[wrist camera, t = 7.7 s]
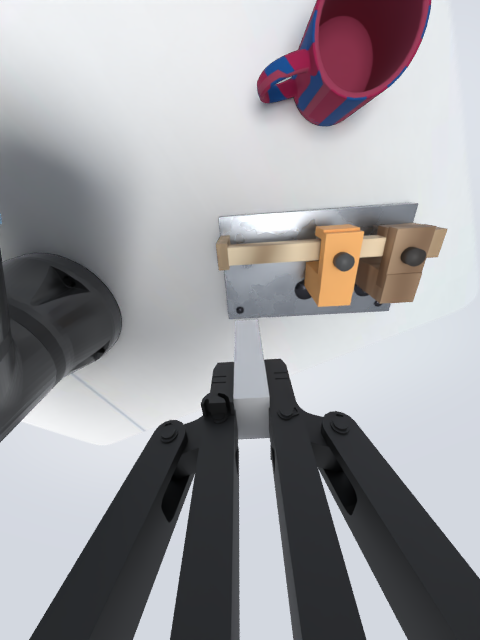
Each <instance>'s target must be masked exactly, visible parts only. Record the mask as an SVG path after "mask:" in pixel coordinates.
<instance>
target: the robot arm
mask: <svg viewBox="0 0 480 640" xmlns="http://www.w3.org/2000/svg"><path fill="white" fill-rule="evenodd" d="M1 224H2V217H1V214H0V225H1ZM120 332H121V314H120V311H119V307H118V305H117V303H116V301H115V299H114V297H113V295H112V294H111V292H110V291H109V290H108V288H107V287H106V286H105V285H104V284H103V283H102V282H101V280H99V279H98V278H97V277H96V276H95V275H94V274H93V273H91V272H90V271H89V270H87V269H86V268H84V267H83V266H81V265H79V264H77V263H75V262H73V261H71V260H69V259H66V258H64V257H61V256H57V255H53V254H46V253H32V254H26V255H23V256H19V257H16V258H12V259H9V260H6V261H4V262H2V257H1V250H0V442H1V441H2V440H3V439H4V438H5V437H6V436H7V435H8V434H9V433H10V432H11V431H12V430H13V429H14V427H16V426H17V425H18V424H19V423H20V422H21V420H22V419H23V418H24V417H25V416H26V415H27V414H28V413H29V412H30V411H31V410H32V409H33V408H34V407H35V406H36V405H37V404H38V403H39V402H40V401H41V400H42V399H43V398H44V397H45V396H46V395H47V394H48V393H49V392H50V390H51V389H52V388H53V387H54V386H55V385H56V384H57V383H58V382H59V381H60V380H61V379H62V378H64V377H65V376H67V375H69V374H71V373H73V372H75V371H77V370H79V369H81V368H83V367H85V366H86V365H88V364H90V363H92V362H94V361H96V360H98V359H99V358H101V357H102V356H103V355H105V354H106V353H107V352H108V350H109V349H110V348H111V347H112V346H113V345H114V344H115V342H116V341H117V339H118V337H119V335H120ZM201 407H202V412H203V416H202V417H200V418H199V419H197V420H195V421H193V422H190V423H187V424H184V425H183V423H182V422H180V421H178V420H170V421H167V422H164V423H163V424H161V425H160V426H159V427H158V428H157V429H156V430H155V431H154V433H153V435H152V437H151V438H150V440H149V441H148V443H147V445H146V446H145V448H144V450H143V452H142V453H141V455H140V456H139V458H138V460H137V462H136V463H135V465H134V466H133V468H132V470H131V471H130V473H129V475H128V477H127V478H126V480H125V481H124V483H123V485H122V486H121V488H120V490H119V491H118V493H117V495H116V496H115V498H114V500H113V501H112V503H111V505H110V506H109V508H108V510H107V511H106V513H105V515H104V516H103V518H102V520H101V521H100V523H99V525H98V526H97V528H96V530H95V532H94V533H93V535H92V536H91V538H90V540H89V541H88V543H87V545H86V546H85V548H84V549H83V551H82V553H81V554H80V556H79V558H78V559H77V561H76V563H75V565H74V566H73V568H72V569H71V571H70V573H69V574H68V576H67V578H66V580H65V581H64V583H63V585H62V586H61V588H60V589H59V591H58V593H57V594H56V596H55V598H54V599H53V601H52V603H51V604H50V606H49V608H48V609H47V611H46V613H45V614H44V616H43V618H42V620H41V621H40V623H39V624H38V626H37V628H36V629H35V631H34V633H33V634H32V636H31V638H30V639H29V640H133V637H134V635H135V632H136V630H137V627H138V624H139V621H140V619H141V616H142V613H143V611H144V608H145V605H146V603H147V600H148V597H149V594H150V592H151V589H152V587H153V584H154V581H155V579H156V576H157V573H158V571H159V568H160V565H161V562H162V560H163V557H164V555H165V552H166V549H167V546H168V544H169V541H170V539H171V536H172V533H173V531H174V528H175V525H176V523H177V520H178V517H179V514H180V512H181V509H182V506H183V504H184V501H185V498H186V496H187V493H188V490H189V488H190V485H191V482H192V480H193V477H194V474H195V478H194V485H193V491H192V498H191V504H190V511H189V518H188V524H187V531H186V538H185V544H184V551H183V558H182V565H181V571H180V577H179V584H178V591H177V597H176V604H175V610H174V617H173V624H172V630H171V637H170V640H239V449H238V439H255V438H270V442H271V460H272V465H273V474H274V481H275V490H276V498H277V507H278V514H279V523H280V532H281V540H282V547H283V556H284V565H285V573H286V581H287V589H288V597H289V606H290V614H291V622H292V630H293V638H294V640H366V637H365V633H364V630H363V626H362V623H361V619H360V615H359V612H358V608H357V605H356V601H355V598H354V594H353V591H352V587H351V584H350V580H349V577H348V573H347V570H346V566H345V562H344V559H343V555H342V552H341V549H340V545H339V541H338V538H337V534H336V531H335V527H334V524H333V520H332V517H331V513H330V510H329V506H328V502H327V499H326V495H325V492H324V488H323V485H322V482H321V478H320V474H319V471H318V469H319V470H320V472H321V474H322V476H323V478H324V480H325V482H326V484H327V486H328V487H329V490H330V491H331V493H332V495H333V497H334V499H335V501H336V503H337V505H338V507H339V509H340V511H341V512H342V514H343V516H344V518H345V520H346V522H347V524H348V526H349V528H350V530H351V531H352V533H353V536H354V537H355V539H356V541H357V543H358V545H359V547H360V549H361V550H362V553H363V554H364V557H365V558H366V560H367V562H368V564H369V566H370V568H371V570H372V572H373V574H374V576H375V578H376V579H377V581H378V583H379V585H380V587H381V589H382V591H383V593H384V595H385V597H386V599H387V601H388V602H389V604H390V606H391V608H392V610H393V612H394V614H395V616H396V618H397V620H398V622H399V623H400V625H401V627H402V629H403V631H404V633H405V635H406V636H407V639H408V640H480V579H479V577H478V576H477V575H476V574H475V572H474V571H473V570H472V569H471V567H470V566H469V565H468V563H467V562H466V561H465V560H464V558H463V557H462V556H461V555H460V553H459V552H458V551H457V550H456V548H455V547H454V546H453V545H452V543H451V542H450V541H449V540H448V538H447V537H446V536H445V534H444V533H443V532H442V531H441V529H440V528H439V527H438V526H437V525H436V523H435V522H434V521H433V520H432V518H431V517H430V516H429V514H428V513H427V512H426V511H425V509H424V508H423V507H422V506H421V504H420V503H419V502H418V501H417V499H416V498H415V497H414V495H413V494H412V493H411V492H410V490H409V489H408V488H407V487H406V485H405V484H404V483H403V482H402V480H401V479H400V478H399V476H398V475H397V474H396V473H395V471H394V470H393V469H392V468H391V466H390V465H389V464H388V463H387V461H386V460H385V459H384V458H383V456H382V455H381V454H380V453H379V451H378V450H377V449H376V447H375V446H374V445H373V444H372V442H371V441H370V440H369V439H368V437H367V436H366V435H365V434H364V432H363V431H362V430H361V429H360V428H359V426H358V425H357V423H356V422H355V421H354V420H353V419H352V418H351V417H350V416H348V415H346V414H344V413H341V412H337V411H335V412H329V413H327V414H325V416H324V417H320V416H317V415H312V414H309V413H307V412H305V411H303V410H302V409H301V408H300V407H299V406H298V404H297V402H296V400H295V396H294V393H293V389H292V385H291V381H290V378H289V374H288V370H287V367H286V364H285V363H284V362H283V361H282V360H281V359H268V360H264V356H263V350H262V343H261V336H260V330H259V323H258V319H251V320H235V353H234V362H225V363H218V364H217V365H216V366H215V368H214V369H213V376H212V384H211V390H210V393H209V394H207V395H206V396H205V397H204V398H203V399H202V402H201Z"/></svg>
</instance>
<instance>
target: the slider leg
mask: <svg viewBox="0 0 480 640" xmlns="http://www.w3.org/2000/svg"><path fill="white" fill-rule="evenodd" d="M315 236H317V237H318V238H320V239H321V248H320V257H319V261H313V262H306V270H305V283H304V286H305V287H306V289H307V291H308V292H309V294H310V295H311V297H312V298H313V300H314V301H315V303H316V304H317V306H318V307H325V306H344V305H350V303H351V298H352V293H353V290H354V285H355V279H356V274H357V268H358V263H359V258H360V252H361V247H362V241H363V236H364V231H361V230H360V227H357V226H353V225H350V224H344V225H329V226H316V231H315Z"/></svg>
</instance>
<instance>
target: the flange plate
mask: <svg viewBox="0 0 480 640" xmlns="http://www.w3.org/2000/svg"><path fill="white" fill-rule="evenodd" d="M417 206H418V203H402V204H388V205H374V206H360V207H346V208H332V209H319V210H305V211H291V212H277V213H263V214H249V215H235V216H222V217H219V226H220V236H227V235H230V244H231V245H232V244H247V243H262V242H277V241H292V240H307V239H320V238H318V237H317V236H315V231H316V226H329V225H344V224H350V225H353V226H357V227H360V230H361V231H364V236H367V235H377V231H378V226H379V225H394V224H403V223H413V221H414V217H415V213H416V210H417ZM377 257H381V256H377ZM361 258H365V257H361ZM313 261H319V260H313ZM313 261H297V262H280V263H264V264H248V265H232V266H230V269H229V270H224V275H225V285H226V294H227V304H228V314H229V319H241V318H260V317H279V316H299V315H318V314H338V313H357V312H376V311H389V307H390V304H391V303H381V304H380V303H379V302H377V301H376V300H375V299H374V298H372V297H371V296H370V295H369V294H368V293H366V292H365V293H364V292H363V291H362V289H361V288H360V287H359V286H358V285H356V284H355V285H354V290H353V293H352V298H351V303H350V305H344V306H325V307H318V306H317V304H316V303H315V301H314V300H313V298H312V297H311V295H310V294H309V292H308V291H307V289H306V287H305V286H304V283H305V270H306V262H313Z"/></svg>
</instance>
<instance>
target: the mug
mask: <svg viewBox="0 0 480 640" xmlns="http://www.w3.org/2000/svg"><path fill="white" fill-rule="evenodd" d="M430 9H431V0H317V1H316V4H315V7H314V9H313V12H312V15H311V17H310V20H309V22H308V25H307V28H306V30H305V33H304V36H303V38H302V41H301V44H300V46H299V49H298V50H297V51H294V52H291V53H289V54H287V55H284V56H282V57H280V58H279V59H277V60H275V61H274V62H272V63H271V64H270V65H268V66H267V67H266V68H265V69H264V71H263V72H262V73H261V75H260V77H259V79H258V81H257V91H258V95H259V98H260V100H261V101H262V102H263V103H273V102H278V101H282V100H285V99H289V98H292V97H294V100H295V103H296V105H297V108H298V109H299V111H300V113H301V114H302V115H303V116H304V117H305V118H306V119H307V120H308V121H309V122H311V123H313V124H315V125H319V126H331V125H334V124H337V123H339V122H341V121H343V120H345V119H346V118H347V117H349V116H350V115H351V114H353V113H354V112H356V111H357V110H358V109H360V108H361V107H362V106H364V105H365V104H366V103H368V102H369V101H371V100H372V99H373V98H375V97H376V96H377V95H379V94H380V93H382V92H383V91H384V90H386V89H387V88H388V87H390V86H391V85H392V84H393V83H394V82H395V81H396V80H397V79H398V78H399V77H400V76H401V75H402V73H403V72H404V71H405V70H406V68H407V67H408V66H409V64H410V62H411V61H412V59H413V57H414V56H415V54H416V52H417V50H418V48H419V46H420V44H421V41H422V39H423V36H424V33H425V30H426V27H427V23H428V19H429V14H430ZM290 76H292V78H291V79H289V80H286V81H284V82H282V83H279V84H277V83H278V82H280V81H282V80H284V79H286V78H288V77H290ZM275 84H276V85H275Z"/></svg>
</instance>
